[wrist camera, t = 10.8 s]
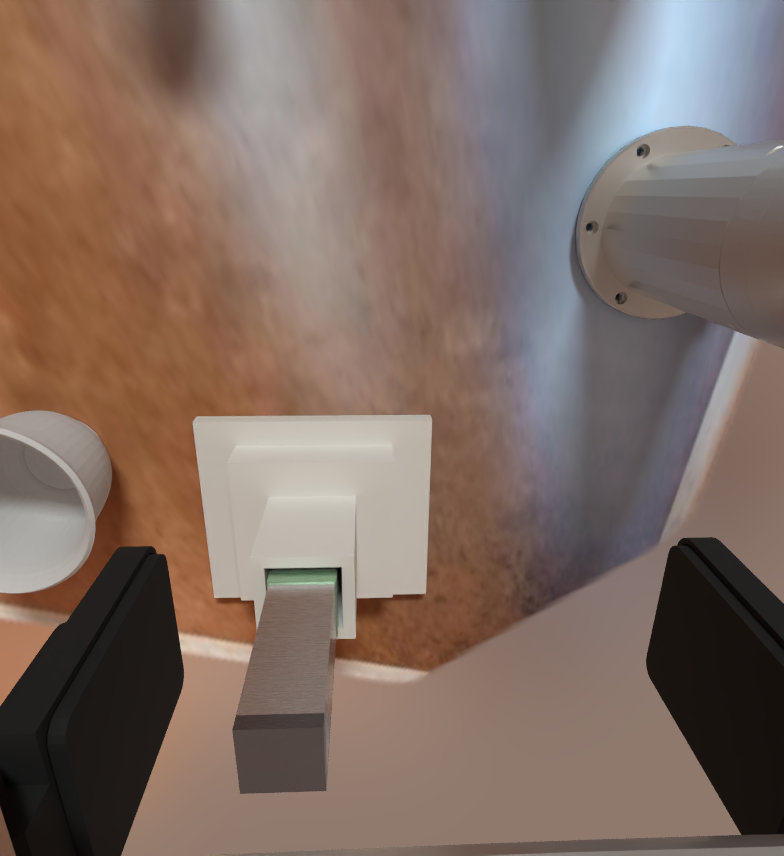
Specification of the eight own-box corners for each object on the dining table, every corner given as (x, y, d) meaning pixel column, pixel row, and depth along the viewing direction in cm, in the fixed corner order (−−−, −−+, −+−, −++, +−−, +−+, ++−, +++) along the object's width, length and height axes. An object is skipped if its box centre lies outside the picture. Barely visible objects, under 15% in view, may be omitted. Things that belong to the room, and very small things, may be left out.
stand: (430, 414, 46) (452, 491, 34) (424, 585, 52) (441, 701, 40) (196, 416, 46) (137, 495, 34) (217, 589, 52) (173, 708, 40)
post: (340, 527, 42) (325, 725, 26) (341, 576, 44) (328, 792, 28) (280, 528, 42) (230, 728, 26) (283, 578, 43) (238, 795, 28)
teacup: (-51, 497, 47) (-153, 572, 38) (24, 345, 43) (-70, 388, 34) (91, 567, 50) (29, 652, 41) (175, 432, 46) (127, 493, 37)
